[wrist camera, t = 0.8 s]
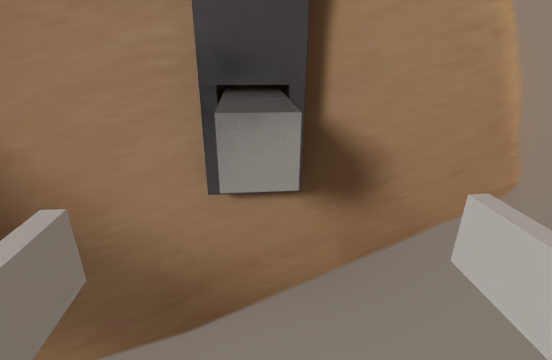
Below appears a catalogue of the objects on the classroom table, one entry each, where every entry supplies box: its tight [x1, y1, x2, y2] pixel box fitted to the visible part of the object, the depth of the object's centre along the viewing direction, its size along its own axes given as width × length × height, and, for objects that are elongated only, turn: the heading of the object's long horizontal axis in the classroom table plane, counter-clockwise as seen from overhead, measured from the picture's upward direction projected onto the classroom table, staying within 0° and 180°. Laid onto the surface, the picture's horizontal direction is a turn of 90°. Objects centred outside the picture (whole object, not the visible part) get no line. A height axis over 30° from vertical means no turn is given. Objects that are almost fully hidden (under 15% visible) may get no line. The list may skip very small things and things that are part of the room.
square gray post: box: [215, 89, 302, 193], centre depth 24 cm, size 5×5×12 cm
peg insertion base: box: [192, 0, 309, 195], centre depth 26 cm, size 9×28×3 cm, turn 0°
